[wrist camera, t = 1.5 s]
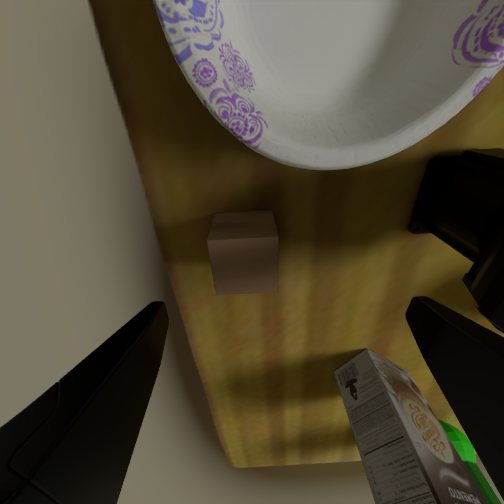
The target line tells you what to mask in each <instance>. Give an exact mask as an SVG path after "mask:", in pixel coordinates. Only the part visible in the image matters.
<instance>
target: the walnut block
mask: <svg viewBox="0 0 504 504" xmlns="http://www.w3.org/2000/svg"><path fill="white" fill-rule="evenodd" d="M207 244H208V250H209V256H210V262H211V268H212V274H213V279H214V285H215V291H216V295H225V294H243V293H262V292H278V249H279V236H278V232H277V228H276V224H275V220H274V216H273V212H272V210H262V211H244V212H227V213H215V214H214V217H213V221H212V224H211V228H210V231H209V235H208V238H207Z"/></svg>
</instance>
